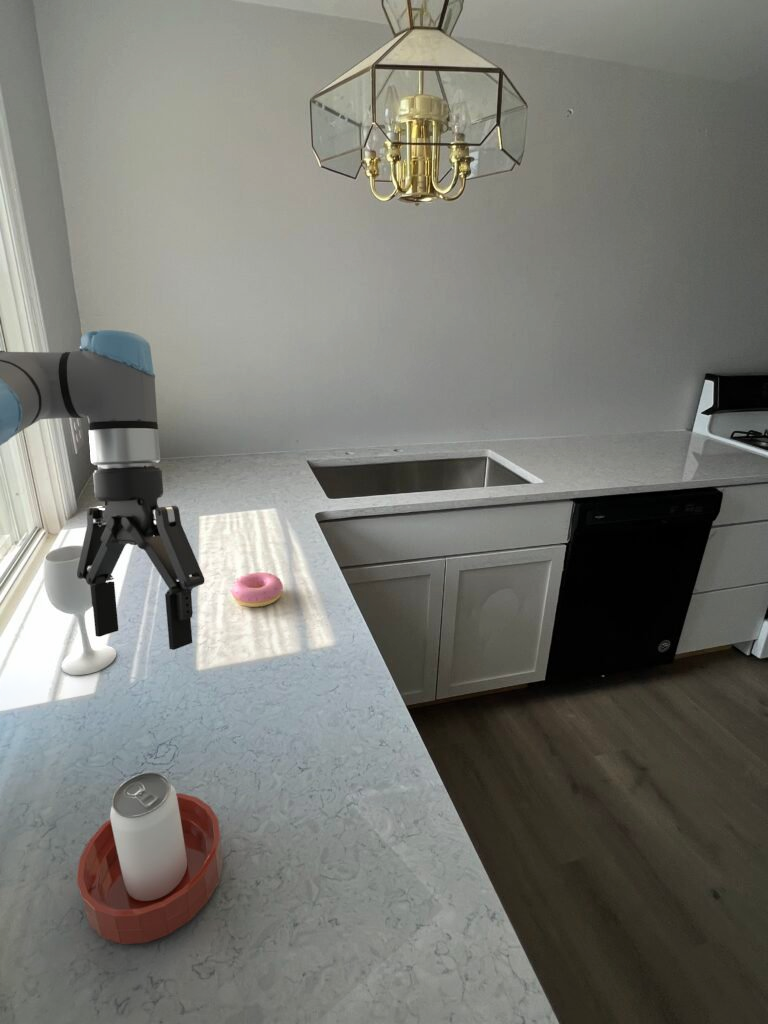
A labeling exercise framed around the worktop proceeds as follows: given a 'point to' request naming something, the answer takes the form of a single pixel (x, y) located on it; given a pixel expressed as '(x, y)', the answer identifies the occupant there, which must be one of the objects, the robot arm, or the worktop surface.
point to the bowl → (156, 918)
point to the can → (148, 836)
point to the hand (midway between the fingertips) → (142, 639)
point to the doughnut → (257, 589)
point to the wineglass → (74, 608)
